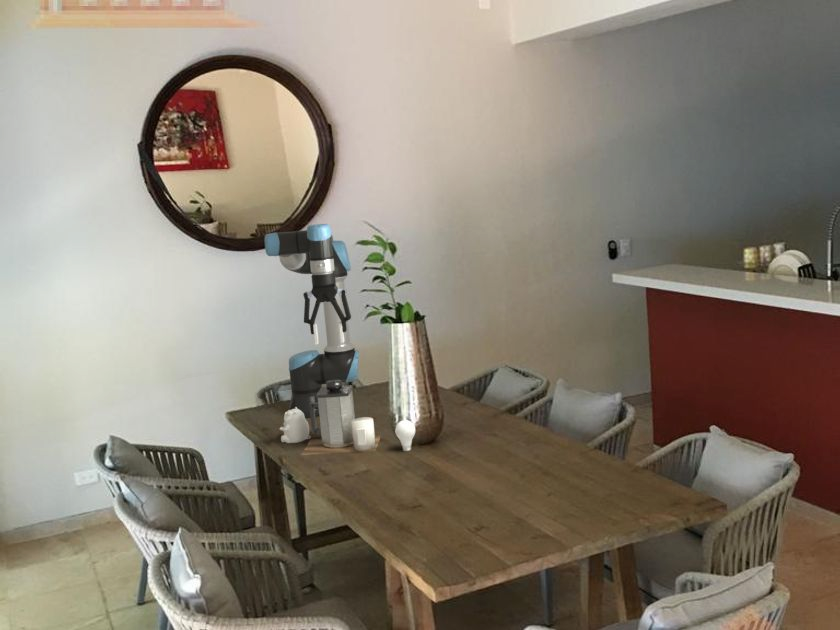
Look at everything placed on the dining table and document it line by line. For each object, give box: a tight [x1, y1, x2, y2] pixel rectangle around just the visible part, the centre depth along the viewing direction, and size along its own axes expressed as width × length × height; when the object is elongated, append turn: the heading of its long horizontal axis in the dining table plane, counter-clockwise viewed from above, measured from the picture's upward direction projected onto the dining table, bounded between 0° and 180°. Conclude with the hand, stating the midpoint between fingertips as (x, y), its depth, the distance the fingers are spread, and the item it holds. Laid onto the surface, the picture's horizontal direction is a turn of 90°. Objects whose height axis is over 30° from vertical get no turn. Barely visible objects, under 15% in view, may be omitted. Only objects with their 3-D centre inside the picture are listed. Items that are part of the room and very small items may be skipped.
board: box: [300, 434, 382, 456], centre depth 284 cm, size 16×24×2 cm, turn 87°
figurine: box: [278, 407, 311, 444], centre depth 295 cm, size 10×10×12 cm
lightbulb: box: [394, 419, 416, 452], centre depth 273 cm, size 6×6×11 cm
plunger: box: [325, 380, 343, 391], centre depth 284 cm, size 8×8×18 cm
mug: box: [351, 416, 376, 452], centre depth 278 cm, size 9×7×9 cm
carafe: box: [309, 384, 356, 448], centre depth 285 cm, size 11×14×18 cm
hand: (329, 342), depth 281 cm, fingers open, 8 cm apart
